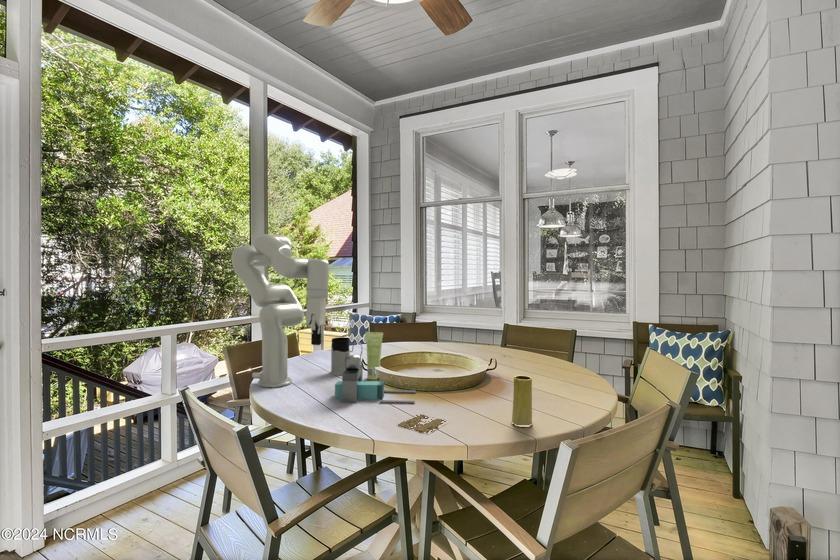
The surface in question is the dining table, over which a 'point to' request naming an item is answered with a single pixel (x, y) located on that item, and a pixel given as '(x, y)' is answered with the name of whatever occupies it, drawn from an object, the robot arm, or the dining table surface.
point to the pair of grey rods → (397, 400)
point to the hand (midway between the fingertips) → (316, 344)
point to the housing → (351, 378)
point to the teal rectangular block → (364, 390)
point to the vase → (522, 400)
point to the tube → (373, 352)
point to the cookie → (422, 428)
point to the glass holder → (340, 354)
